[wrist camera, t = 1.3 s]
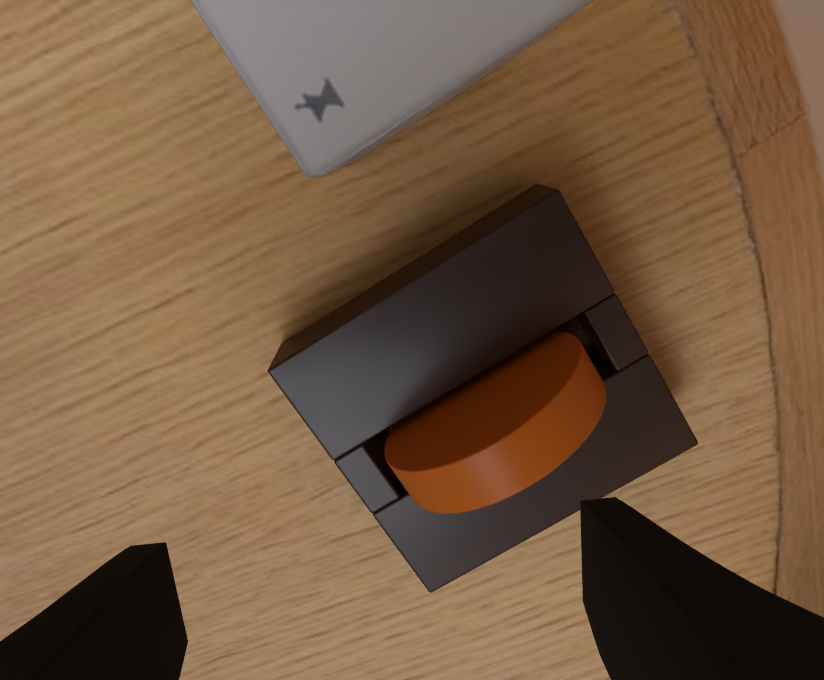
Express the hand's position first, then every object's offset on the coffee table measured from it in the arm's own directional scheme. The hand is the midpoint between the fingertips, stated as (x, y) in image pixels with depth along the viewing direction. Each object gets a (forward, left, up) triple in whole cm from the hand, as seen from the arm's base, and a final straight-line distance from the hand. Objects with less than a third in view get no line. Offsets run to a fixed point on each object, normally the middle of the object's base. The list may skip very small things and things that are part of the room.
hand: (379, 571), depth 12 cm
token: (-1, -3, -10) cm, 10 cm away
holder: (-2, -3, -10) cm, 10 cm away
